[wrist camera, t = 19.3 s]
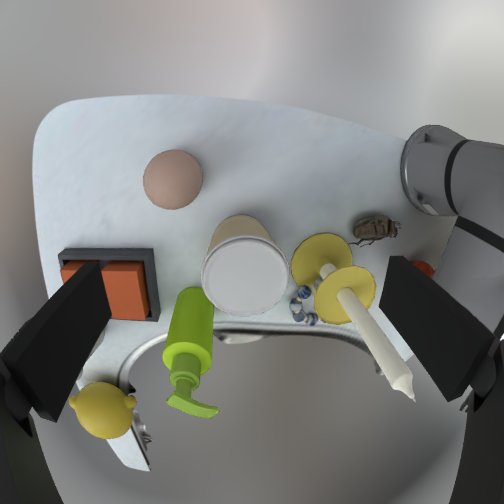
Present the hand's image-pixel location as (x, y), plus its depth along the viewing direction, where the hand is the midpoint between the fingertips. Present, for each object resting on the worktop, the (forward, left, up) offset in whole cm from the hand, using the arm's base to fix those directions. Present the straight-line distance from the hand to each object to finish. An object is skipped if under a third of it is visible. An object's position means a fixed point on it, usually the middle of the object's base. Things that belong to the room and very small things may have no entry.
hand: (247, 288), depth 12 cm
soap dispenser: (+5, +18, -27) cm, 33 cm away
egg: (+7, -2, -27) cm, 28 cm away
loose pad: (+15, +14, -26) cm, 34 cm away
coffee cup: (-1, +8, -27) cm, 28 cm away
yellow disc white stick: (-14, +11, -27) cm, 32 cm away
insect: (-21, +6, -24) cm, 32 cm away
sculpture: (+29, +47, -26) cm, 60 cm away
